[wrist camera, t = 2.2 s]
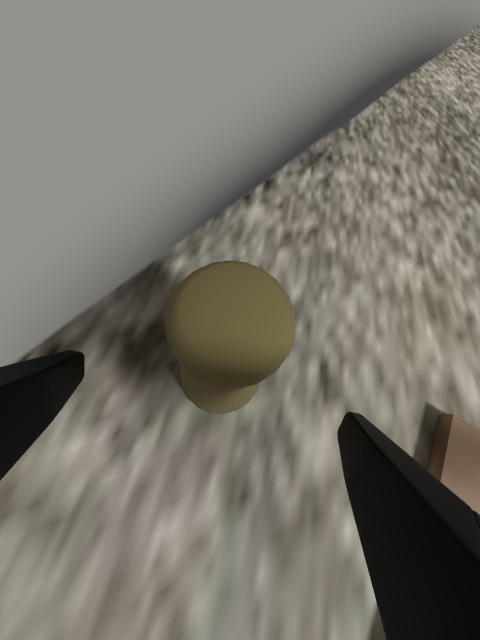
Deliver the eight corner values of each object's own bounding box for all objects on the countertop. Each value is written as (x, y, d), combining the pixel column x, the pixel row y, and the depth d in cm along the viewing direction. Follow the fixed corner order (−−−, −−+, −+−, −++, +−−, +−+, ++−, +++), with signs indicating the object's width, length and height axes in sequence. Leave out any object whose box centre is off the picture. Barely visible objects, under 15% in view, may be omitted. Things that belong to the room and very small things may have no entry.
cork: (179, 417, 17) (139, 403, 7) (179, 334, 20) (148, 235, 10) (265, 409, 18) (337, 386, 8) (255, 330, 20) (301, 235, 10)
